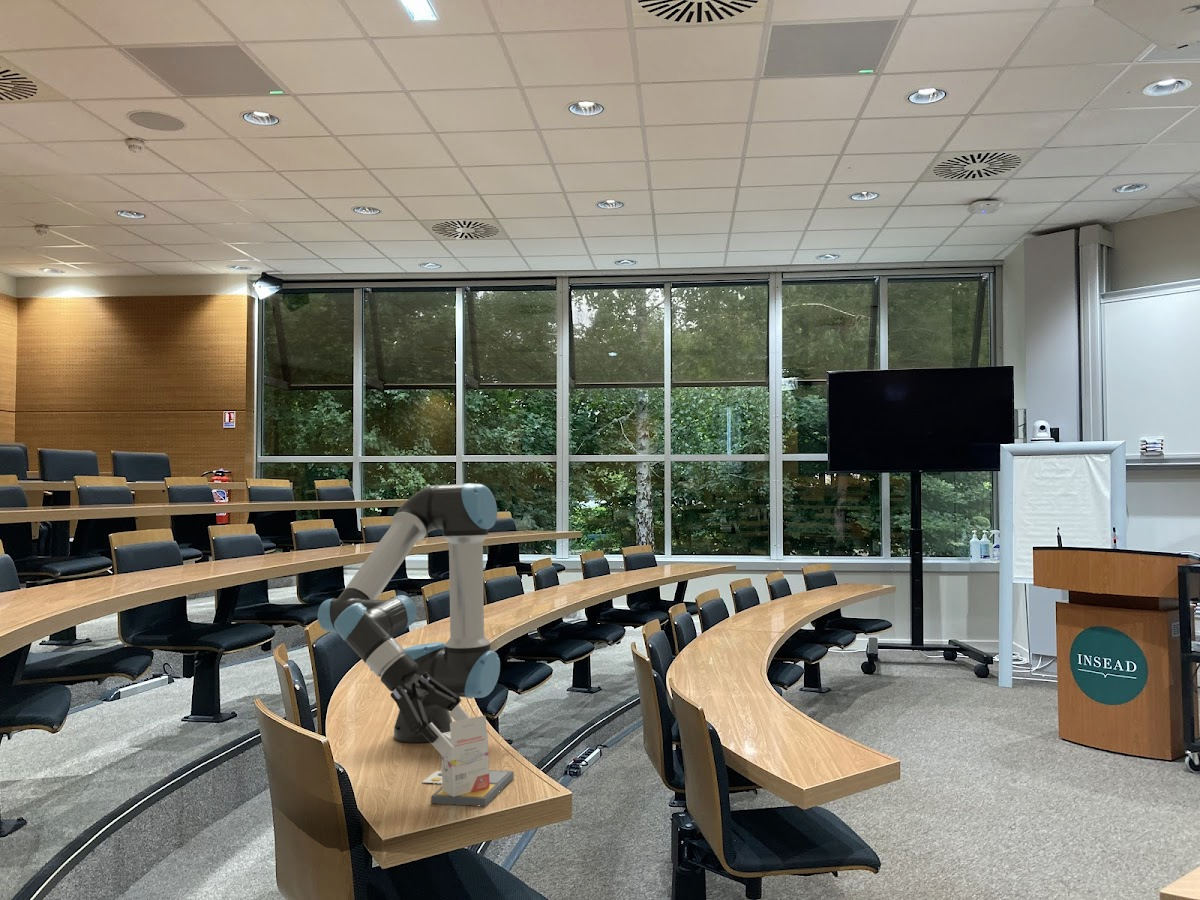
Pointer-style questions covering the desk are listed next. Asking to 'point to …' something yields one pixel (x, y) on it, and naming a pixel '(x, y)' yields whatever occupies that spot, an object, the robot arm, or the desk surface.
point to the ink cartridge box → (466, 758)
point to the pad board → (477, 797)
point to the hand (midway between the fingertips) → (462, 741)
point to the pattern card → (434, 778)
